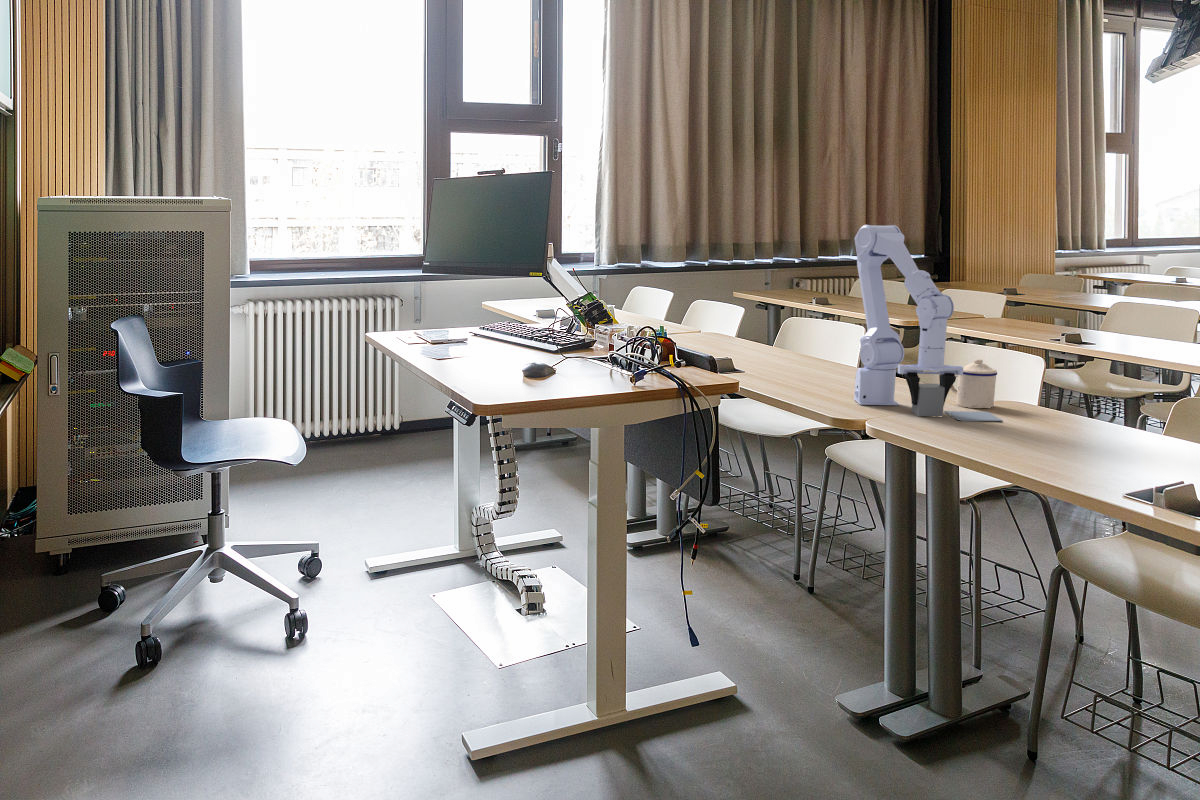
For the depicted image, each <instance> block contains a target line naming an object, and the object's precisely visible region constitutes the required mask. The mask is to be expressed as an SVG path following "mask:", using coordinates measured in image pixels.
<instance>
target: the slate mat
mask: <svg viewBox="0 0 1200 800" xmlns="http://www.w3.org/2000/svg"><path fill="white" fill-rule="evenodd" d="M945 412H946V413H948V414H950V415H951V416H952V417H954V418H955V419H957V420H962V421H961V422H974V421H1001V422H1000V423H1003V422H1004V421H1003V420H1002V419H1001V418H999V417H997V416H996V415H994V414H992V413H990V412H989V411H969V410H967V411H966V410H965V411H964V410H963V411H961V410H957V411H956V410H944V413H945ZM946 413H945V414H946ZM948 414H947V415H948ZM951 416H950V417H951ZM952 417H951V418H952ZM954 418H953V419H954ZM955 419H954V420H955ZM957 420H956V421H957Z"/></svg>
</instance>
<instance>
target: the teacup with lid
mask: <svg viewBox="0 0 1200 800" xmlns="http://www.w3.org/2000/svg"><path fill="white" fill-rule="evenodd" d="M962 367H963V375H955V376H956V378H957V388H955V387H954V384H953V385H952V387H951V388H950V391H951V392H952V393H954V394H956V403H955V404H956V405H957V406H958V407H962V408H966V407H968V409H974V408H988V409H990V408H989V407H992V408H993V407H994V404H995V395H996V394H995V392H996V381H997V375H998V370H997V369H995V368H992V367H990V366H989V365H988V364H986V363H983V359H981V358H974V360H973V362H971V363H968V364H967V365H965V366H962Z"/></svg>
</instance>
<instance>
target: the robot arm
mask: <svg viewBox="0 0 1200 800" xmlns="http://www.w3.org/2000/svg"><path fill="white" fill-rule="evenodd" d="M904 242H905V235H904V233H902V231H901V229H900V227H899V226H897V225H894V224H890V225H870V224H864V225H862V226H861V227H860V228H859V230H858V231H857V233H856V235H855V236H854V245H855V250H856V267H857V272H858V279H859V285H860V286H859V287H860V291H861V297H862V304H863V310H864V316H865V322H866V323H865V324H866V328H867V331H866V333H864V334H863V336H862V337H860V340H859V342H860V348H859V349H860V350H859V358H860V361H861V363H862V364H863V367H858V368H856V371H855V382H854V397H853V400H854V401H856V402H857V403H858V404H859V405H861V406H899V402H897V401H895V392H896V391H895V390H896V389H895V387H896V373H897V374H899V375H904V378H905V381H906V384H907V385H908V389H909V392H910V393H909V394H910V398H911V399H910V400H911V405H912V404H913V405H917V400H918V387H919V383H920V380H921V377H919V375H938V376H939V377H938V378H939V385H941V386H943V387H945V393H944V404H945V403H946V399H947V396H948V394H949V392H950V391H951V389H950V388H951V387H952V385H953V386H954V384H955V382H956V380H957V377H956V376H955V375H963V367H964V366H962V365H950V364H949V365H948V364H944V363H945V354H946V353H945V352H946V339H947V328H948V327H947V326H948V319H950V318H952V315H953V313H954V311H955V310H954V309H955V306H954V305H955V304H954V302H953V300H952V297H951V296H950V295H948V294H943V292H941V291H940V290H939V288H938V287H937V286H936V284H935V282H934V281H933V280H932V278H931V275H930V273H929V272H927V271H926V270H922V269H921V270H920V269H919V268H918V266H917V264H916V262H915V261H914V258H913V257H912V256H911V253H910V252H909V249H908V248H907V246H906V244H905V243H904ZM888 258H890V260H891V261H892V262H893V263H894V265H895V266H896V268H897V269H898V270H899V272H900V273H901V275H903V277H904V278H905V279H904V283H903V286H904V287H905V288H906V290H907V291H908V293H909V294H910V296H911V298H912V299H913V301H914V303H916V305H917V306H916V307H915V313H916V316H917V317H918V326H919V328H920V332H919V342H918V343H919V344H918V357H917V363H916V364H901V363H902V362H903V360H904V358H905V348H904V345H903V344H902V342H901V340H900V335H899V333H898V332H896V331H895V330H894V329H893V328H892V327H891V323H890V318H889V312H888V304H887V299H886V293H885V286H884V280H883V275H882V269H881V266H882V265H883V264H884V263H883V262H885V261H887V260H888Z"/></svg>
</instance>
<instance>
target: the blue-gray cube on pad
mask: <svg viewBox="0 0 1200 800" xmlns="http://www.w3.org/2000/svg"><path fill="white" fill-rule="evenodd" d="M944 393H945V387H943V386H941V385H940V383H921V382H919V387H918V400H917V405H913V404H912V403H911V413H912V414H914V415H915V416H916V415H917V416H916V417H918V416H943V417H944V406H945V403H944Z"/></svg>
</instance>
